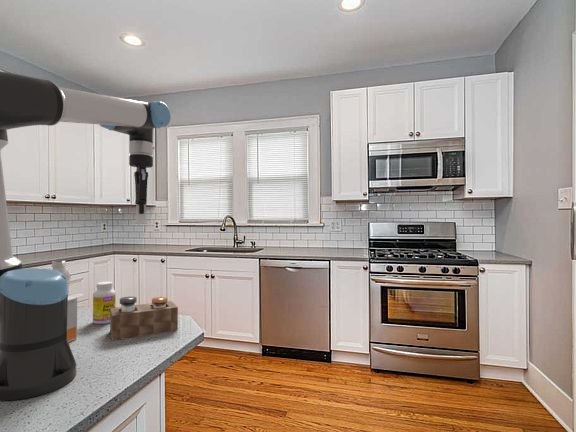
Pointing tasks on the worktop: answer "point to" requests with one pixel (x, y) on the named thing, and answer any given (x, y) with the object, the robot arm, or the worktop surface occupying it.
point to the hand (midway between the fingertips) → (140, 223)
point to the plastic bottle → (61, 270)
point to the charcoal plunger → (128, 304)
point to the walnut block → (143, 320)
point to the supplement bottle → (103, 302)
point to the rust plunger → (159, 302)
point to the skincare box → (72, 319)
